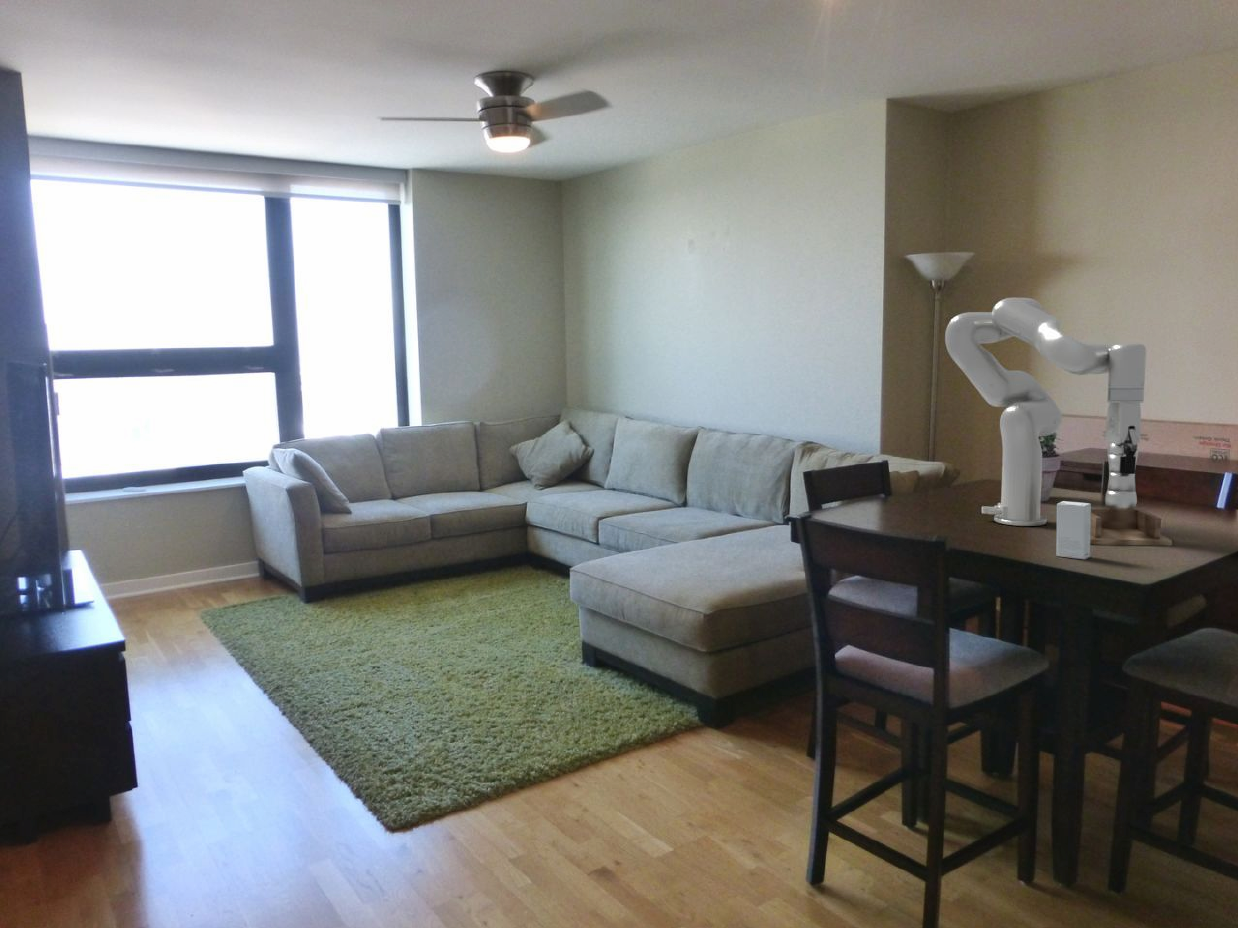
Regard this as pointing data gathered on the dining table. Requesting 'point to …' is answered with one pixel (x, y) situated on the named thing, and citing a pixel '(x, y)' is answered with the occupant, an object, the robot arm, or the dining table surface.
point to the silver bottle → (1120, 482)
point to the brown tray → (1125, 528)
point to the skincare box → (1073, 529)
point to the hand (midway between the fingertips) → (1122, 471)
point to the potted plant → (1048, 464)
